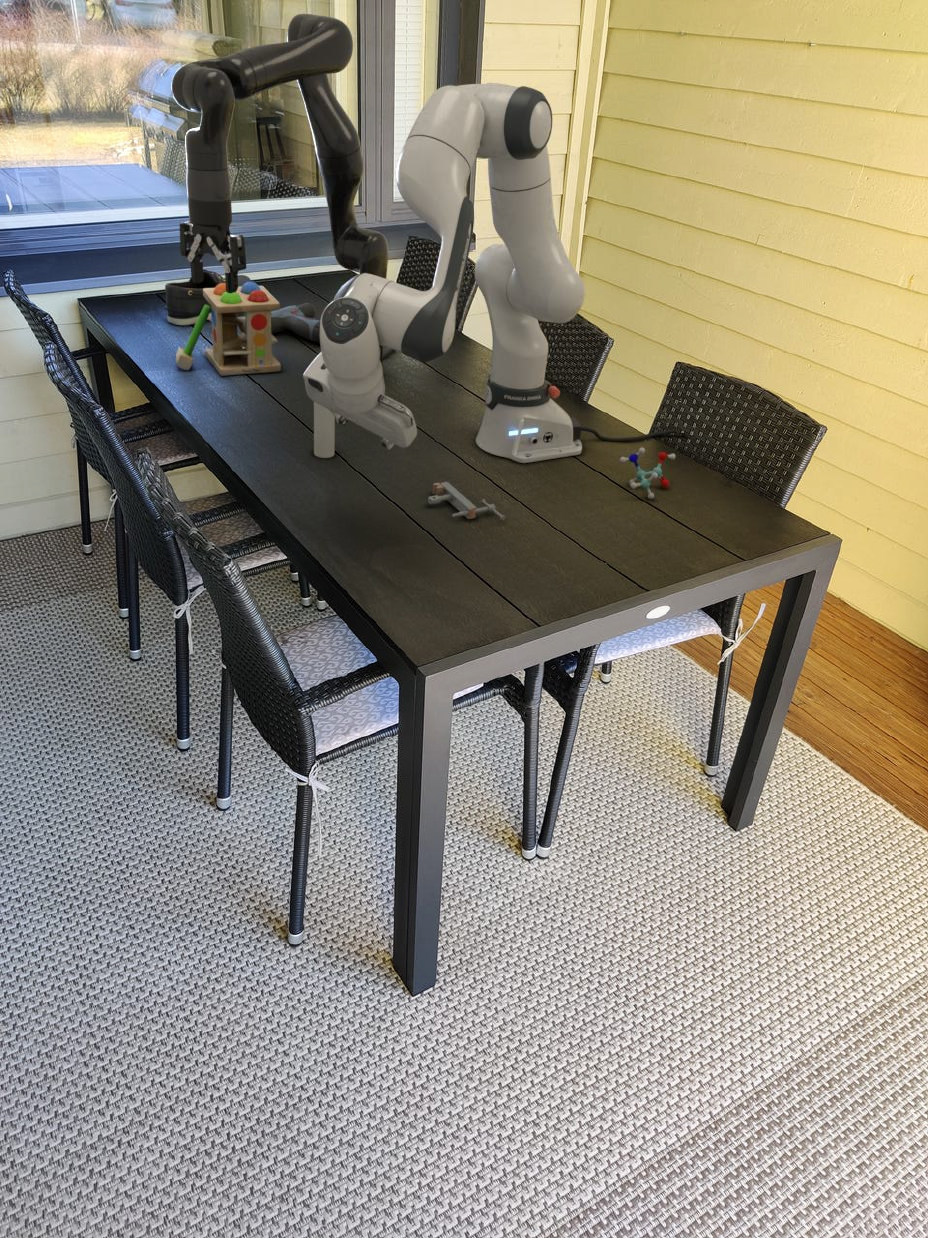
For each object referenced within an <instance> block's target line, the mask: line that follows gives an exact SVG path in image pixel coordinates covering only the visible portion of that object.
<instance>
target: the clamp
mask: <svg viewBox="0 0 928 1238" xmlns="http://www.w3.org/2000/svg"><path fill="white" fill-rule="evenodd" d="M432 494H433V495H431V496H428V497H427V499H428V500H427V502H428V504H429V505H438V504H441V503H442V502H444V501H445V502H446V501H447V502H449V504H451V505H452V506H453V508H455V509H456V510H457V511H459V512H455V513H452V514H451V517H452V518H455V517H456V518H457V517H463V516H464V517H465V518H466V519H468V520H472V519H476V517H477V515H476V514H479V513H484V512H487V513H491V512H493V513H494V514H495V515H497V516H498V517H499V519H500V520H501V521H504V520H506V516H505V515H504V514H501V513H500V512H499V511H498V510H497V509H496V508H497V507H496V505H495V504H494V503H491V504H490V503H488V502H487V501H486V499H485V498H483V499H481V501H480V504H481V505H484V506H483V507H478V508H477V506H476V505H475V504H473V502H472V501H470V500H469V499H468V498H467V497H465V495H463V494H462V493H461V492H460V491H458V489H456V487H454V486H453V485H451V483H450V482H449V481H442V482H434V483H432Z"/></svg>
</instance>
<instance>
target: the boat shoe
mask: <svg viewBox="0 0 928 1238" xmlns="http://www.w3.org/2000/svg"><path fill="white" fill-rule="evenodd" d="M203 274H204V281H203V282H200V283H194V282H193V280H192V277H191V276H190V278H189V279H188V280H187V281H180V282H167V283H166V284H165V285H164V289H165V295H166V296H165V306H164V310H165V311H166V312H167V313H166V318H167V322H168V323H170V324H173V325H176V326H190V325H195V324H196V322H197V320H198V318H199V316H200V314H201V311H202V309H203V307H204V305H208V306H210V307H211V305H210V304H209V302H208V301H207V300H206V299H205V297H204V296H203V289H204V288H215V287H216V286H217V285H218V284H221V283H225V277H223V276H222V275H221V274H219V273H217V272H215V271H212V270H207V269H204V268H203ZM247 282H253V281H252V280H251V278H250V277H249V276H247V275H244V274H238V287H242V286H243V285H244V284H245V283H247ZM209 314H211V310H210V312H209ZM206 321H210V320H209V318H207V320H206Z"/></svg>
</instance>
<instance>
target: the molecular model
mask: <svg viewBox="0 0 928 1238" xmlns="http://www.w3.org/2000/svg"><path fill="white" fill-rule="evenodd" d="M645 452H646V449H645V447H640V448H639V449H638V452H636V453H631V454H630V455H629V457H628V456H627V457H625V456H621V457H619V463H621V464H625V463H626V462H628V461H630V462H631V463H633V464H634V466H635V468H636V471H637V472H636V476H635V477H634V478H631V479H629V481H628V483H629V487H630V489H633V490H635V489H636V488H638V487H641V488H643V489H645V490H646V492H647V499H649V500H653V499H654V498H655V494H654V493H653V492H652V491H651V489H650V486H651V482H652V481H653V480H656V479H658V480H659V482H660V485H661V487H662V488H664V489H666V488H668V487H669V486H670V481H669V480H668V479H666V478H665V476H664V475H663V474H662V473H663V470H662V468H661V467H662V464H663V461H664V460H666V459H670V460H672V461H674V460H675V459H676V454H675V453H670V454H667V453H666V452H664V451H661V452H659V453H658V456H657V457H658V459H659V460H658V463H657V466H656V467H654V468H653V469H652V470H650V471H645V470H643V469H641V467H640V465H639V463H638V460H639V456H640V455H643V454H645ZM650 475H651V476H650ZM646 476H650V477H649V478H646ZM638 480H640V482H637V481H638ZM636 482H637V483H636Z"/></svg>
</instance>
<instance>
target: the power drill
mask: <svg viewBox="0 0 928 1238" xmlns="http://www.w3.org/2000/svg"><path fill="white" fill-rule="evenodd" d="M315 315H316V308H315V306H314V305H313V304H312V303H311V302H305V303H300V304H295V305H294V304H293V305H289V306H285V307H283V308H280V310H271V334H272V335H273V334H275V333H276V334H277V333H279V332H282V331H286V330H290V331H292V332H293V333H295V334H296V335H298V336H300V337H302V338H305V339H307V340H309V341H313V342H316V343H319V344H320V321H321V319H317V318H314V317H315Z"/></svg>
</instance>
